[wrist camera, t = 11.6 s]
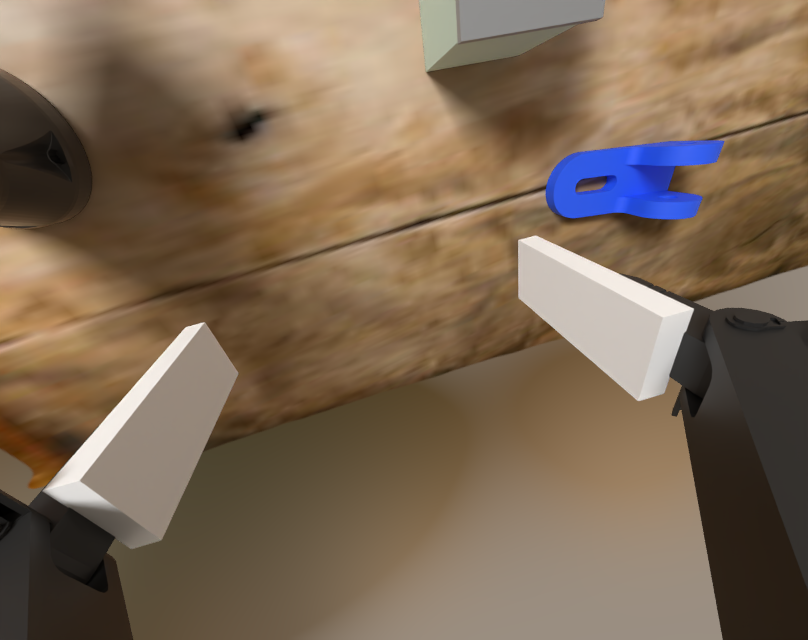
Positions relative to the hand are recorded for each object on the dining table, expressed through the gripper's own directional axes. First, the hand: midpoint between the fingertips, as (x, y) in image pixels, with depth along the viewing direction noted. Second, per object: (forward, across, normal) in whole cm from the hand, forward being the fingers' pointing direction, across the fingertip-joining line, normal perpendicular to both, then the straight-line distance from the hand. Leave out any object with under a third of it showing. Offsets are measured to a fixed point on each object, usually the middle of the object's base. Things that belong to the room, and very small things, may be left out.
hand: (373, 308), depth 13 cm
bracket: (+31, +36, -6) cm, 48 cm away
